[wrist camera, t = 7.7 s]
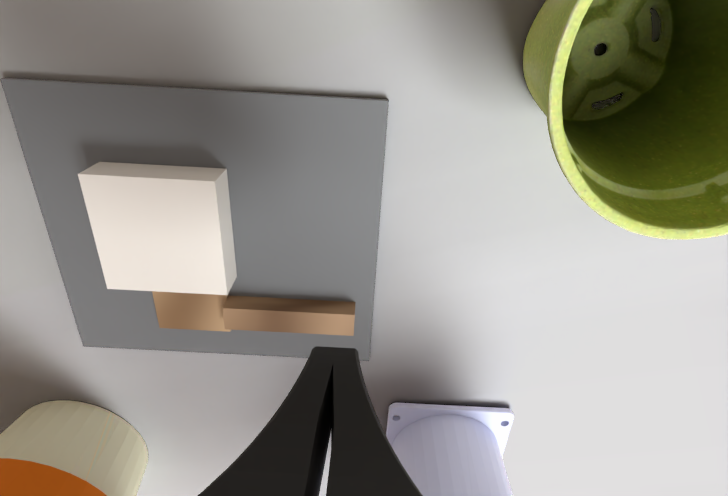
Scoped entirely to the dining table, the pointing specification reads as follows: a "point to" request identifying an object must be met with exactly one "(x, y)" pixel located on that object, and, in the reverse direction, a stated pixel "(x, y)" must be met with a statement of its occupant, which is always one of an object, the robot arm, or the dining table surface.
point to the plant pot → (638, 109)
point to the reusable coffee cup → (71, 452)
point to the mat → (246, 192)
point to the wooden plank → (253, 313)
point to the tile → (161, 227)
